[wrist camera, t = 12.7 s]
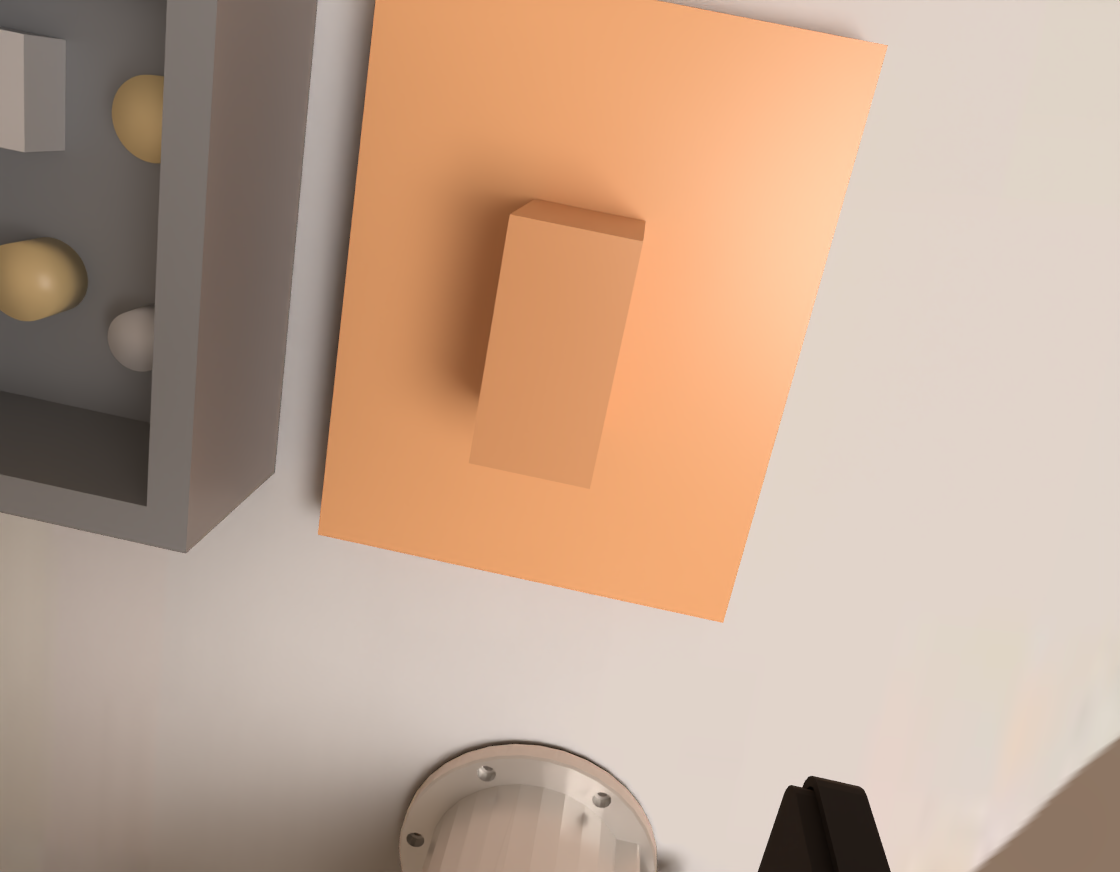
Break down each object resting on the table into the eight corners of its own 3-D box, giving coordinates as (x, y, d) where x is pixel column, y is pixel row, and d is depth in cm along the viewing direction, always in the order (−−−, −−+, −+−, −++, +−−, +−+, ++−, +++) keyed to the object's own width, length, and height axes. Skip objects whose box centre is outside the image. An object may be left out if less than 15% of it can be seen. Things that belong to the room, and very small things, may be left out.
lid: (869, 51, 32) (941, 27, 24) (718, 590, 40) (734, 711, 32) (402, -40, 33) (318, -94, 25) (339, 508, 40) (258, 606, 32)
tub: (320, -27, 33) (221, -70, 26) (274, 472, 40) (185, 553, 33) (-73, -105, 34) (-283, -171, 26) (-53, 401, 41) (-215, 464, 33)
